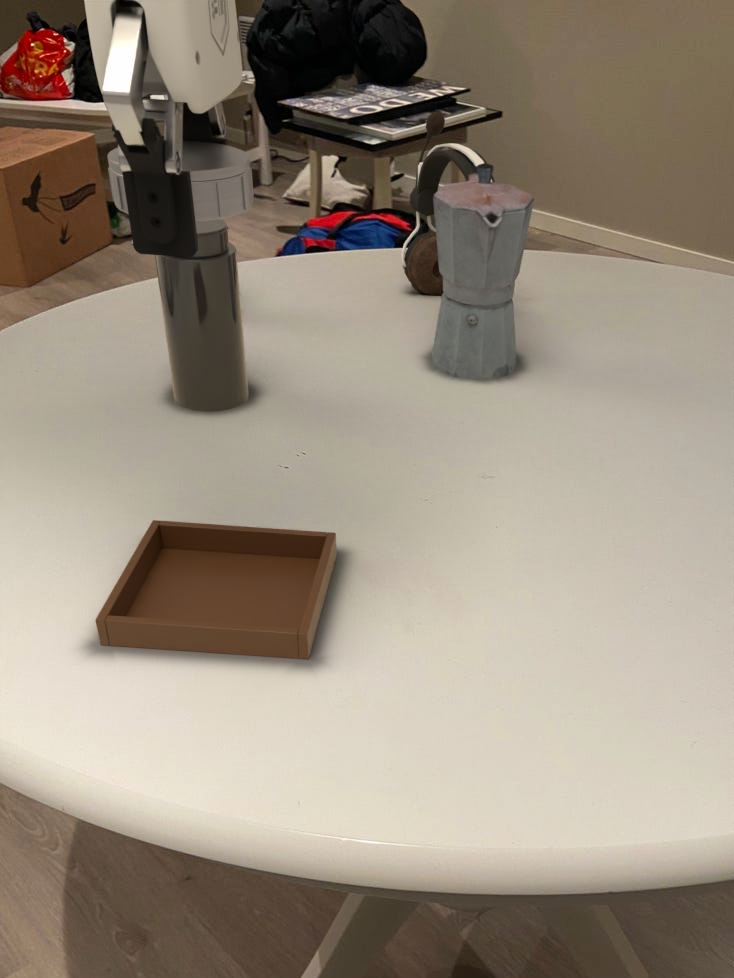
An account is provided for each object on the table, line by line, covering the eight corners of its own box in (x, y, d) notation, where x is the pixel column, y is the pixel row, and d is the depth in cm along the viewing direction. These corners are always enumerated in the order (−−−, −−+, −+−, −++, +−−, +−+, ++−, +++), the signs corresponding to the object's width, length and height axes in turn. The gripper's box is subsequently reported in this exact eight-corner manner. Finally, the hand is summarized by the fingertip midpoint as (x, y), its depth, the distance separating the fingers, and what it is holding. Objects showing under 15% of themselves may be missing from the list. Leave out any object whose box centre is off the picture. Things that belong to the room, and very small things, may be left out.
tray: (101, 652, 63) (94, 619, 61) (157, 550, 73) (152, 519, 71) (308, 666, 63) (307, 634, 61) (337, 562, 73) (336, 532, 71)
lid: (264, 191, 56) (261, 145, 55) (236, 226, 50) (231, 175, 49) (138, 183, 56) (131, 136, 55) (95, 216, 50) (87, 165, 49)
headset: (386, 287, 122) (387, 106, 110) (439, 279, 126) (446, 103, 113) (460, 333, 111) (471, 138, 99) (516, 324, 115) (533, 134, 102)
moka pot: (438, 398, 97) (447, 179, 85) (414, 339, 109) (419, 140, 96) (532, 395, 99) (554, 181, 87) (499, 338, 111) (513, 142, 98)
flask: (165, 414, 90) (140, 232, 81) (185, 384, 96) (163, 210, 86) (240, 419, 90) (223, 238, 81) (255, 389, 96) (241, 216, 86)
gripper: (168, -195, 37) (217, 288, 47) (263, -172, 50) (285, 198, 61) (-36, -210, 36) (60, 278, 47) (116, -183, 50) (163, 189, 61)
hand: (187, 230), depth 54 cm, fingers closed on lid, 7 cm apart
